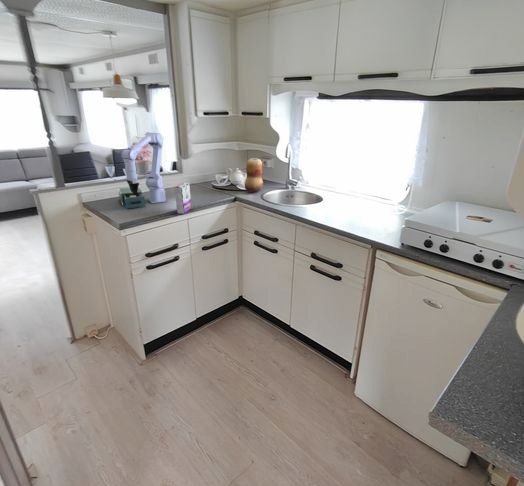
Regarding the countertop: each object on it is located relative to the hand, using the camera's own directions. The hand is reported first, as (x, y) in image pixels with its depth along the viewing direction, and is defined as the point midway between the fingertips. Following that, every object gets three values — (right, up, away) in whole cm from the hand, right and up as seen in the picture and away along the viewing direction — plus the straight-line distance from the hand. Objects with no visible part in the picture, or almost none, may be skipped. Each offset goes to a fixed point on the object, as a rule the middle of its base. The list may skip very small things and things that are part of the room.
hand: (134, 192), depth 196 cm
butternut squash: (+72, +7, +47) cm, 86 cm away
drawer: (-3, -7, +9) cm, 11 cm away
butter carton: (-4, -5, +9) cm, 11 cm away
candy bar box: (+30, -11, +2) cm, 32 cm away
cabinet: (-9, -3, +19) cm, 21 cm away
